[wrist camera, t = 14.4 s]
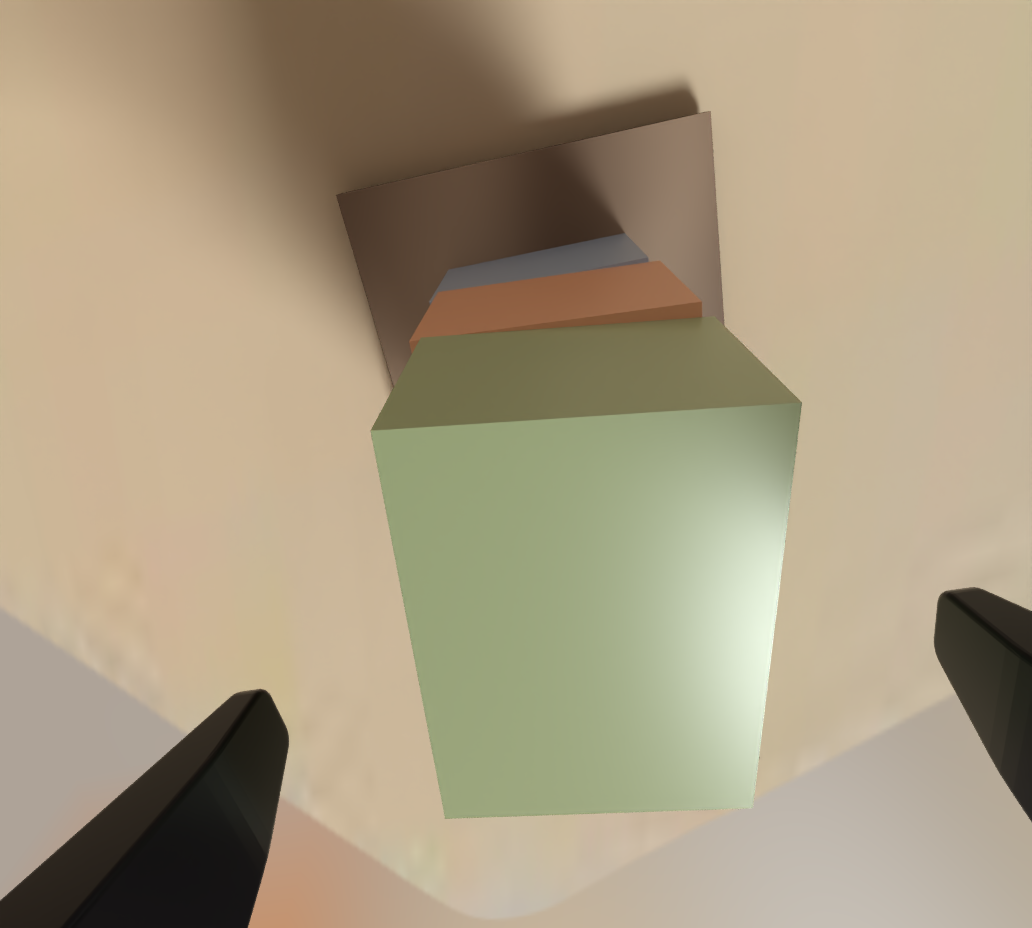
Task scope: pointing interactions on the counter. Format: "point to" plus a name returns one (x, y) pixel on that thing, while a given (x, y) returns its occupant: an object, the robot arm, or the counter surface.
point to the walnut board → (538, 217)
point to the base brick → (547, 263)
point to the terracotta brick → (562, 302)
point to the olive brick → (590, 561)
